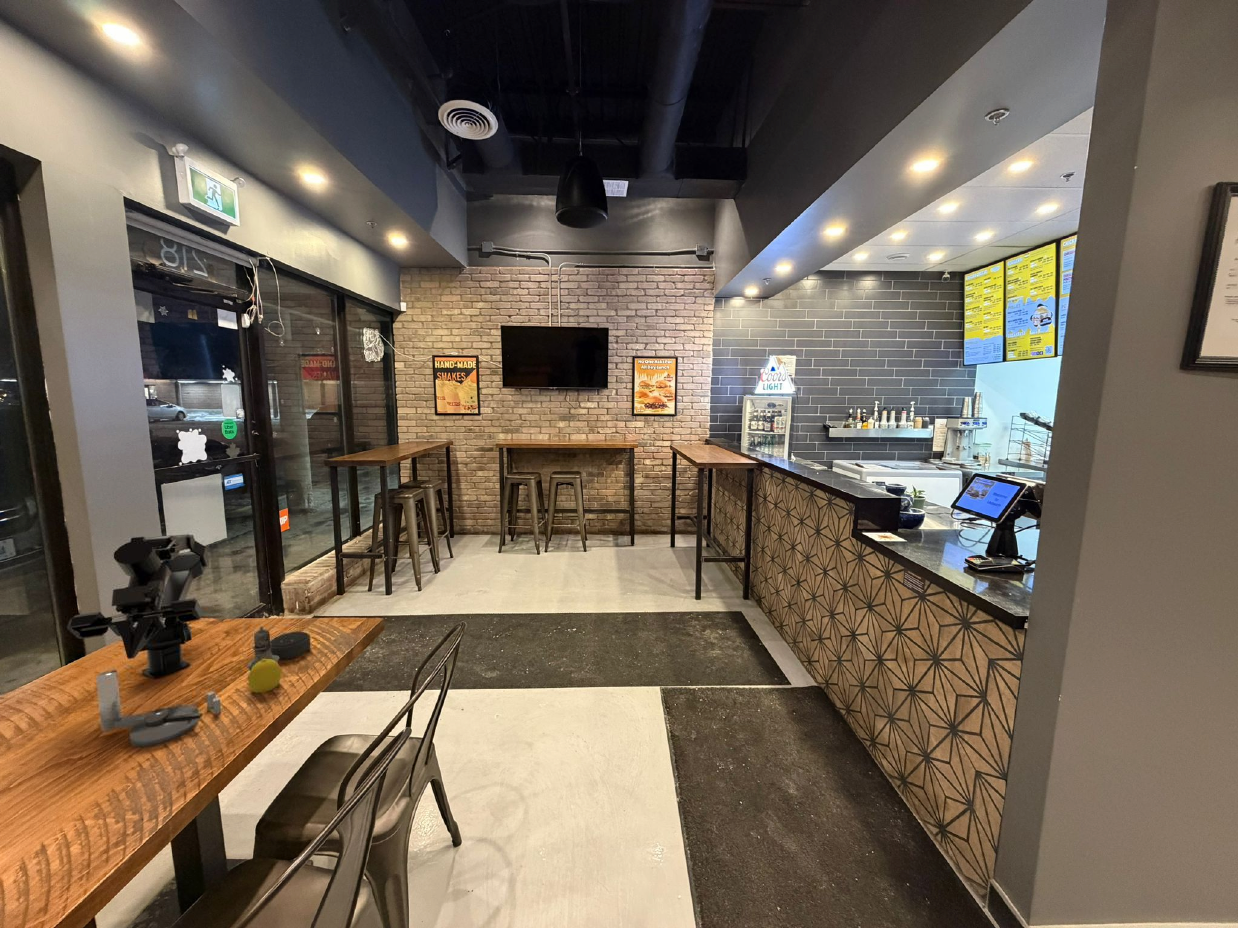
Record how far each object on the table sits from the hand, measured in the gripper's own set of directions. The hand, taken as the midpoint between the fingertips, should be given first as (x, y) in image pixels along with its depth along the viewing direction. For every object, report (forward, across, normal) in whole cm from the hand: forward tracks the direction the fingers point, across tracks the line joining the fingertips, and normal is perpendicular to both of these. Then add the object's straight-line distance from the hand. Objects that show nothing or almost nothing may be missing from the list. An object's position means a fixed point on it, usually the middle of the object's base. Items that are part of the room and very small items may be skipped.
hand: (130, 657), depth 91 cm
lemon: (+12, +22, +5) cm, 25 cm away
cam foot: (+16, +7, -2) cm, 18 cm away
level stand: (+17, +7, -1) cm, 19 cm away
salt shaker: (+6, +20, +11) cm, 24 cm away
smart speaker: (-1, +24, +18) cm, 30 cm away
